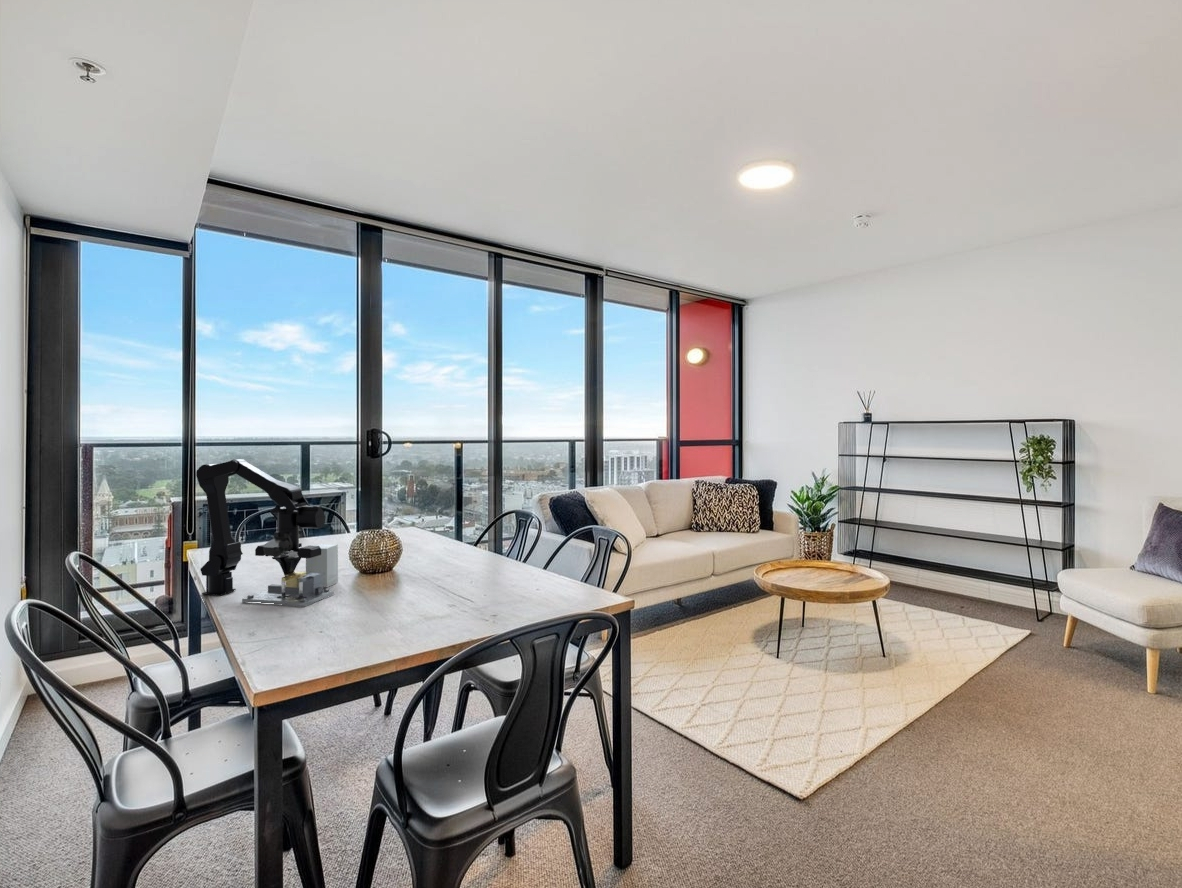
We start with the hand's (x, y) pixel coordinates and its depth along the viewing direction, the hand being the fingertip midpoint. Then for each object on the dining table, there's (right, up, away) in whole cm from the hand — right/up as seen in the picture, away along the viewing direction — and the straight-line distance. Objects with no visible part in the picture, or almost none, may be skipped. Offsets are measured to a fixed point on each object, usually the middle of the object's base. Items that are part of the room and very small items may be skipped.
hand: (288, 579), depth 183 cm
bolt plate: (+2, -5, -4) cm, 6 cm away
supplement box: (+4, -5, +13) cm, 15 cm away
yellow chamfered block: (+3, -3, -3) cm, 5 cm away
